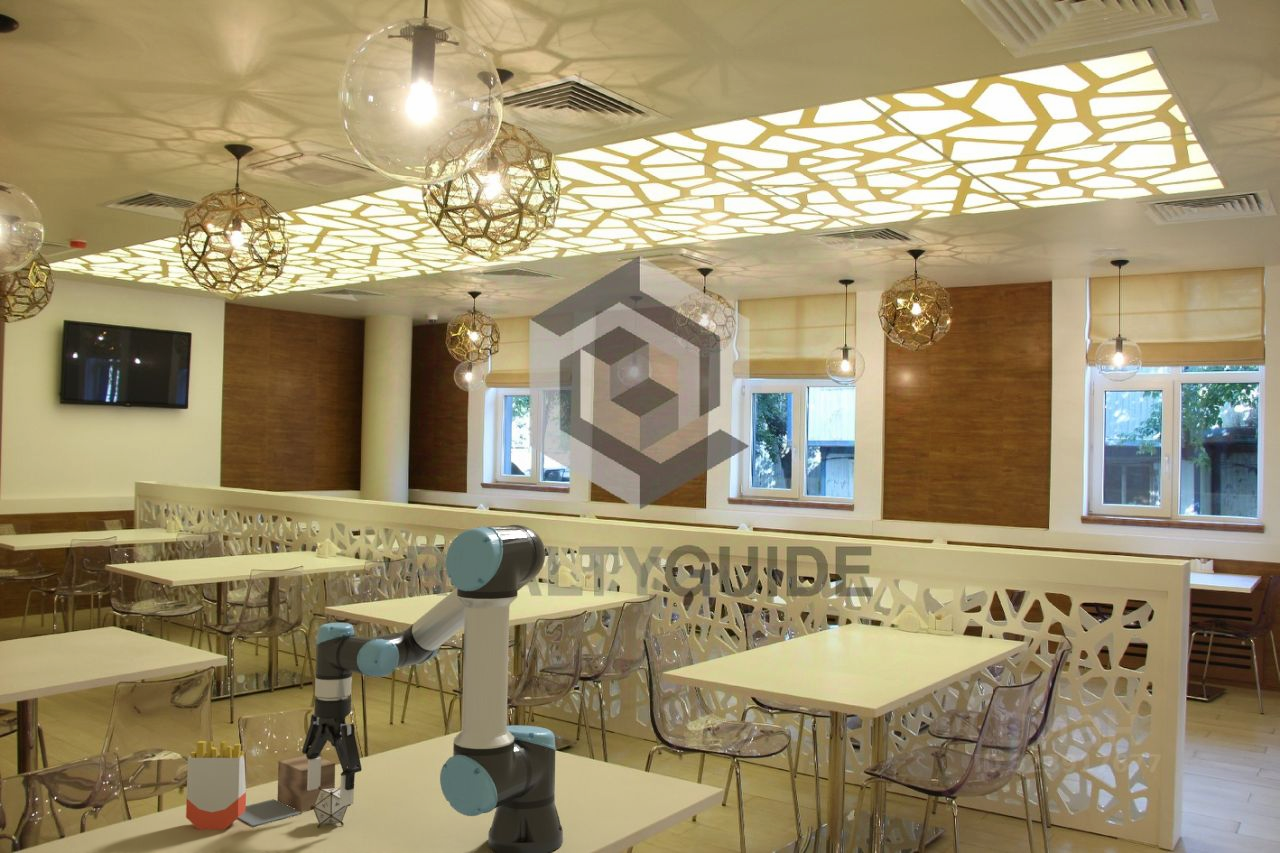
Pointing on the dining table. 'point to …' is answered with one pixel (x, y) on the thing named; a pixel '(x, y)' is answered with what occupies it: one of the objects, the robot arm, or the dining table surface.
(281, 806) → the mat
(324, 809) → the game die
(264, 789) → the dining table surface
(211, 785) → the french fries container
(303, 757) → the cardboard box
